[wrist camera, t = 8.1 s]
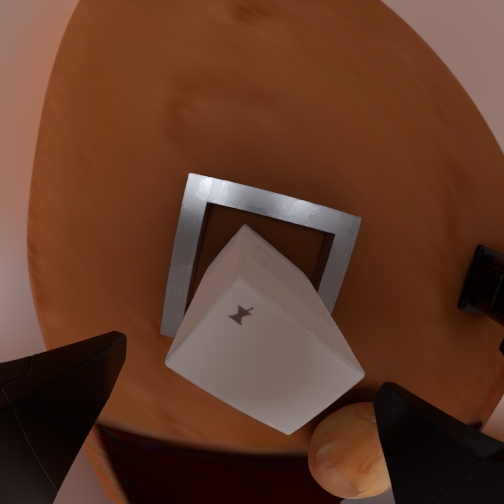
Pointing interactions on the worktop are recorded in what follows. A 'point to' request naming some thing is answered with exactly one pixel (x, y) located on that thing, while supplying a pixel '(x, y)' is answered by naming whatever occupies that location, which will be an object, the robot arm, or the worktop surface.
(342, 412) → the onion
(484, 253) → the robot arm
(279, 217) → the silver metal square frame
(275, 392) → the skincare box
